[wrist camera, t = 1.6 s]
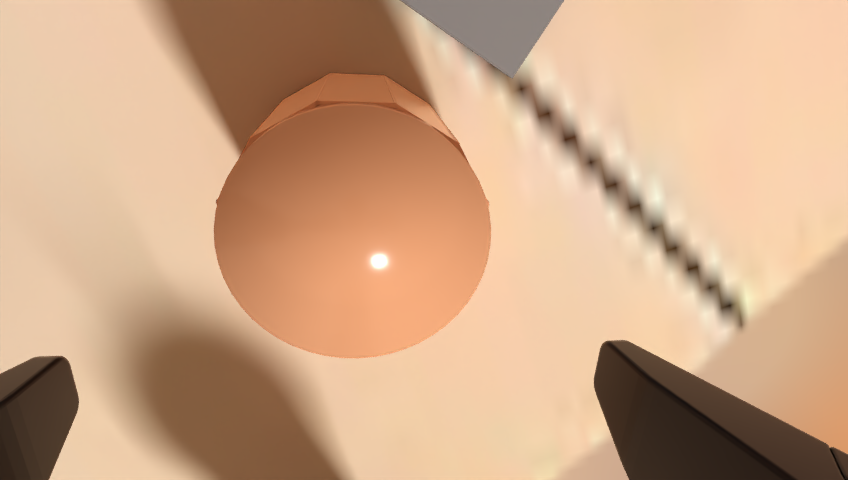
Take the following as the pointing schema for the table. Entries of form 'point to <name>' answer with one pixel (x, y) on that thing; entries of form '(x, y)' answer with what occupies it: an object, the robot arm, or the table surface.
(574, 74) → the table surface
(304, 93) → the terracotta cup
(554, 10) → the charcoal mat
